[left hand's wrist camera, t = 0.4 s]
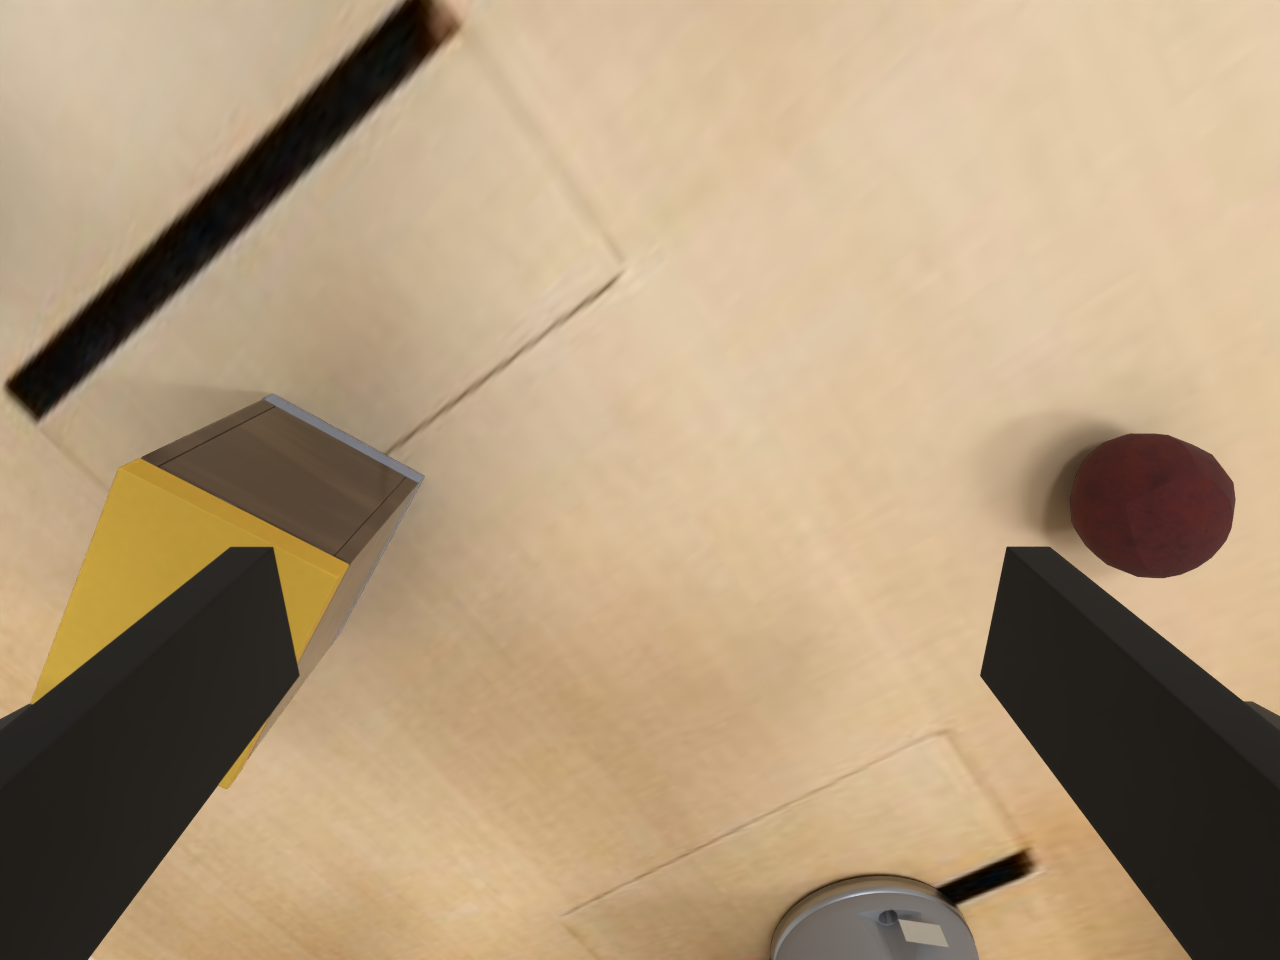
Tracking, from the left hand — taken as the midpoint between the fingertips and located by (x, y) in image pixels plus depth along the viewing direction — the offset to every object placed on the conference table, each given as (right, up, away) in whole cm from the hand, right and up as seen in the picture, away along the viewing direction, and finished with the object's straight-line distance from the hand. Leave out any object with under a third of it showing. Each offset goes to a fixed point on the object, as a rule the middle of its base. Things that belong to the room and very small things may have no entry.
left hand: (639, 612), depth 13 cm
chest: (-20, 0, +29) cm, 35 cm away
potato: (+27, +2, +28) cm, 39 cm away
